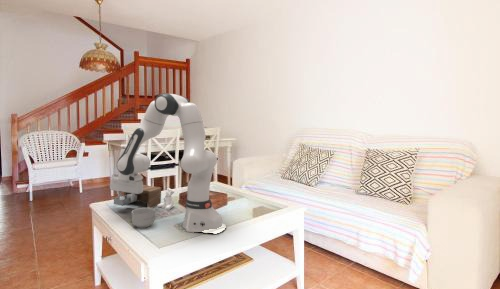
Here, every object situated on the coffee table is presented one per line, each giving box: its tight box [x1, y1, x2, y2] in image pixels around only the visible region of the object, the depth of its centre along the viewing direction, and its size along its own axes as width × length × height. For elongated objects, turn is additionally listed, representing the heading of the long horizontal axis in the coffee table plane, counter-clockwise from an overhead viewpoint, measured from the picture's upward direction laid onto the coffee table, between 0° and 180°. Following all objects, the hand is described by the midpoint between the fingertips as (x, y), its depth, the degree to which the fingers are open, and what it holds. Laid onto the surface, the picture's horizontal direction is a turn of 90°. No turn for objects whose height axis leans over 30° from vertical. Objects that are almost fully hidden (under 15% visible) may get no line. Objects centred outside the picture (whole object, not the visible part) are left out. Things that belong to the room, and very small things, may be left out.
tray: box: [113, 194, 137, 207], centre depth 164 cm, size 12×6×4 cm, turn 164°
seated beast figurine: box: [156, 187, 175, 212], centre depth 175 cm, size 10×9×12 cm
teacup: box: [130, 206, 156, 229], centre depth 144 cm, size 14×11×8 cm
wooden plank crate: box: [123, 184, 162, 208], centre depth 178 cm, size 18×12×10 cm, turn 74°
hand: (125, 199), depth 164 cm, fingers closed on tray, 6 cm apart
